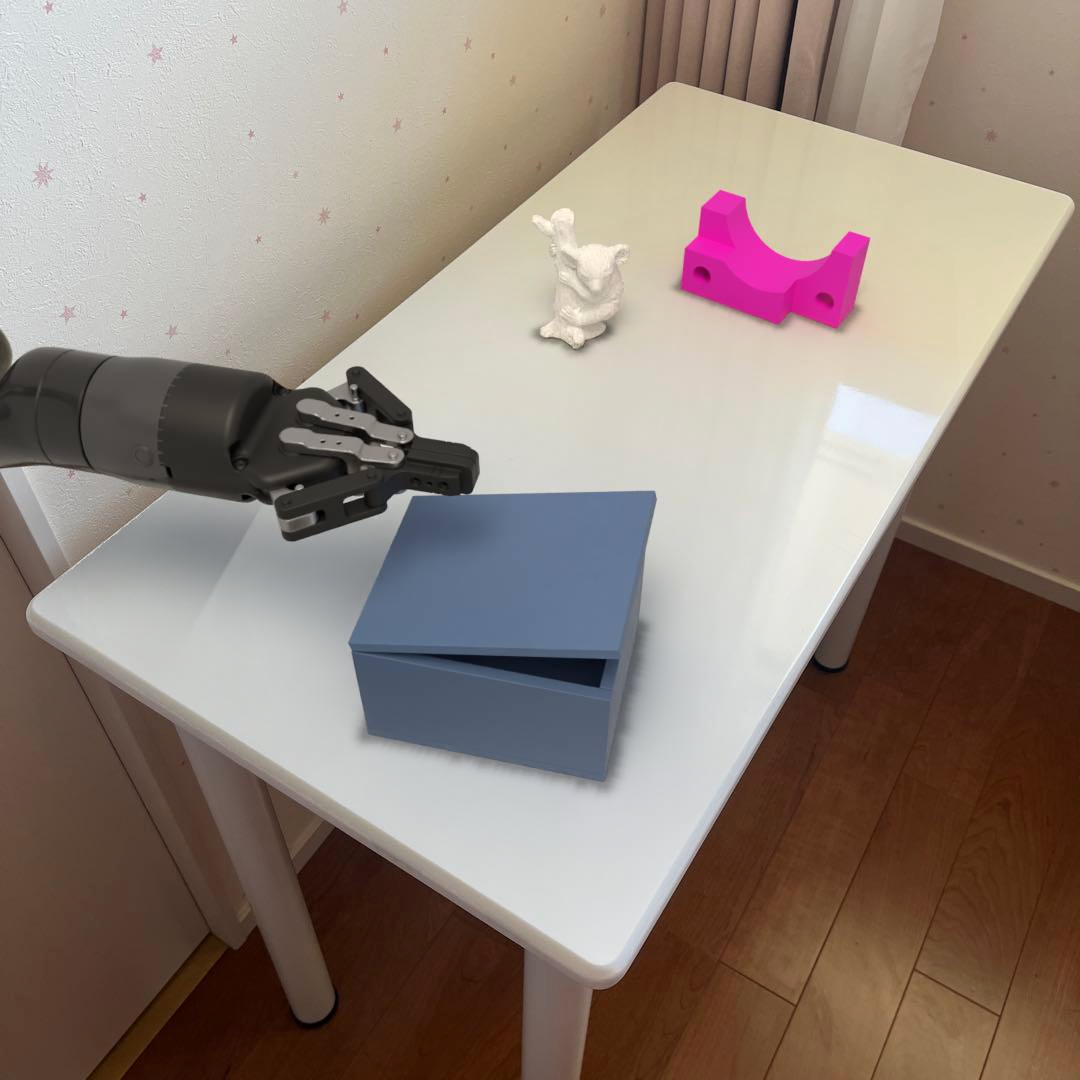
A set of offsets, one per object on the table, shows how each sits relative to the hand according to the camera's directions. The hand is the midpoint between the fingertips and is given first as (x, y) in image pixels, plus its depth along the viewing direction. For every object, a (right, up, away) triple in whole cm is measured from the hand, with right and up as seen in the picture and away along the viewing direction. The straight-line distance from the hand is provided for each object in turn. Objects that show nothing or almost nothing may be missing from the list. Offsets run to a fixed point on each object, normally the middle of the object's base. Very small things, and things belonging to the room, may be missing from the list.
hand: (475, 473), depth 61 cm
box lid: (+2, -6, +5) cm, 8 cm away
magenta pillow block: (+25, +19, +44) cm, 54 cm away
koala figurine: (+7, +15, +40) cm, 43 cm away
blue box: (+1, -13, +13) cm, 19 cm away
